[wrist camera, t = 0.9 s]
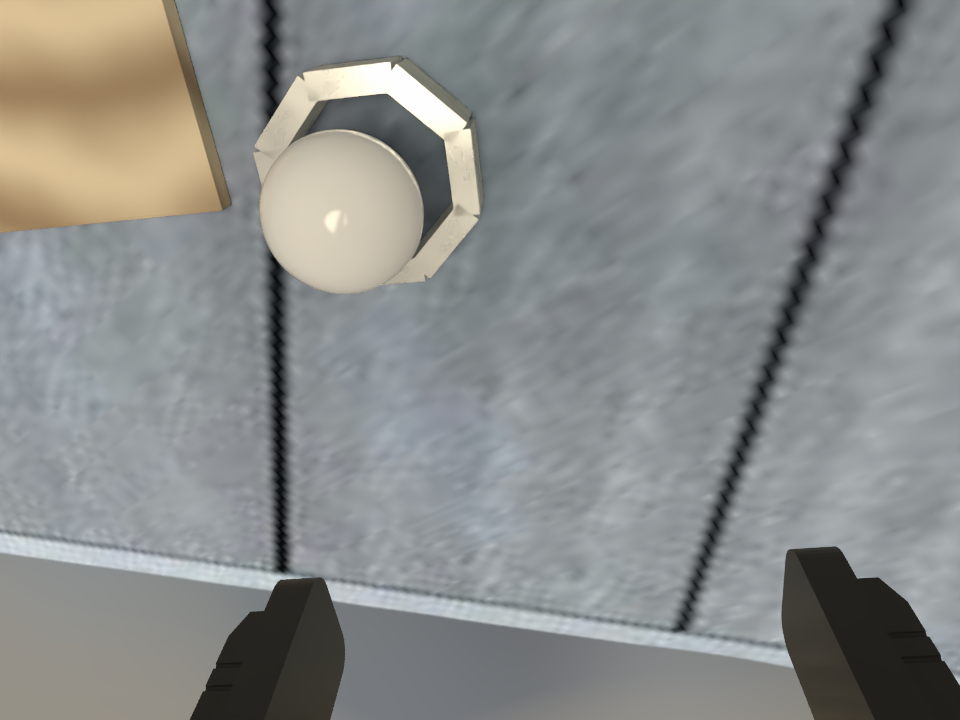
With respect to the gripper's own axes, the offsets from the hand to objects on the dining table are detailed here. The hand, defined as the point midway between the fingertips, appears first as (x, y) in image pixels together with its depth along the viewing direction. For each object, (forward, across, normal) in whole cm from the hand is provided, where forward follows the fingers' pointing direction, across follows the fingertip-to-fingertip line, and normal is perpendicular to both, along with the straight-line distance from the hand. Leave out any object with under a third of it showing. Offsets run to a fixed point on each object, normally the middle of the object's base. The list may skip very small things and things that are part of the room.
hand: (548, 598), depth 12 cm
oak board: (+26, +22, -9) cm, 35 cm away
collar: (+26, +7, -3) cm, 27 cm away
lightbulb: (+26, +7, -3) cm, 27 cm away
